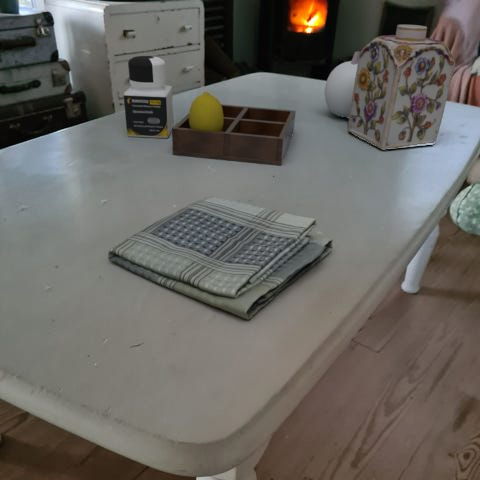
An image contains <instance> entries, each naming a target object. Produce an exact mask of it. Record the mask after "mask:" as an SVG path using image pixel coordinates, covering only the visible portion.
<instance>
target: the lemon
mask: <svg viewBox="0 0 480 480" xmlns="http://www.w3.org/2000/svg"><path fill="white" fill-rule="evenodd" d="M188 113H189V124H190V128H191V129H199V130H210V131H220V132H221V131H222V128H223V123H224V116H223V110H222V106H221V102H220V101H219V99H218V98H217V97H216V96H214V95H213V94H210V92H209V91H204V92H203V93H202V94H200V95H198V96H196V97H195V98H194V99H193V101H192V103H191V105H190V107H189V112H188Z"/></svg>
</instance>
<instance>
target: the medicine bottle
mask: <svg viewBox="0 0 480 480" xmlns="http://www.w3.org/2000/svg"><path fill="white" fill-rule="evenodd" d="M127 64H128V65H127V66H128V77H129V79H128V80H129V84H130V86H129V87H128V88H127V89H126V90H125V91H124V93H123V103H124V104H123V105H124V114H125V125H126V136H127V137H130V138H151V139H168V138H169V136H170V135H171V134H172V128H173V127H174V126H175V125H174V102H173V87H172V85H167V75H166V72H167V71H166V62H165V60H164V59H163V58H160V57H159V56H154V55H137V56H133V57H132V58H130V59H129V60H128V61H127Z"/></svg>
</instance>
